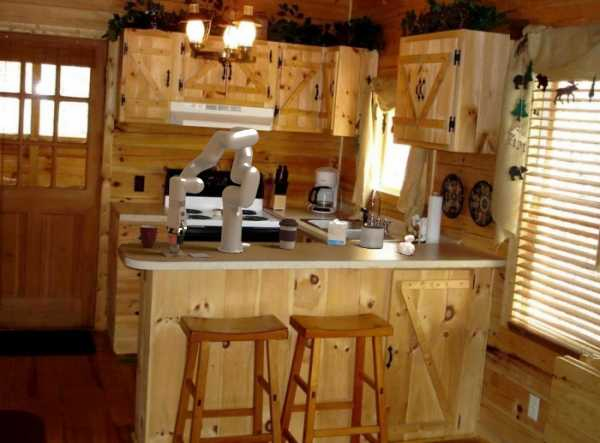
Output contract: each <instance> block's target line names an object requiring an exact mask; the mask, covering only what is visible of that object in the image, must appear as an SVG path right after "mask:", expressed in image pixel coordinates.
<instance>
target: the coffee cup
mask: <svg viewBox="0 0 600 443" xmlns="http://www.w3.org/2000/svg"><path fill="white" fill-rule="evenodd" d="M278 225H279V248H280V249H283V250H294V249H295V244H296V240H297V233H298V230H297V229H298V227H299V222H297V220H296V219H294V218H282V219H281V220H280V221H279V222H278Z"/></svg>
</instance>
